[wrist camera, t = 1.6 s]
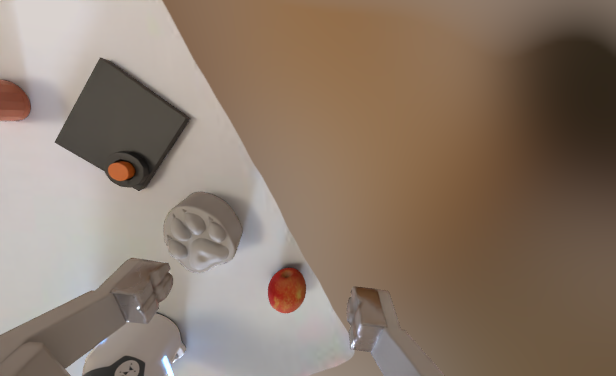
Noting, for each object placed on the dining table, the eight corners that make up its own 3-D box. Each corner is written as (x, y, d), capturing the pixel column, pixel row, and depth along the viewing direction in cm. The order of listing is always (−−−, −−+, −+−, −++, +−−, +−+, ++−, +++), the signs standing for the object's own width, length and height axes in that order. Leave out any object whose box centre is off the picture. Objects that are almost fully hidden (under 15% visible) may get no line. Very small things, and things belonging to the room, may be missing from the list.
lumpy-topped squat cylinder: (204, 255, 46) (187, 285, 38) (168, 204, 42) (140, 224, 34) (248, 236, 46) (241, 261, 38) (216, 182, 42) (200, 197, 34)
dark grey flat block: (145, 188, 41) (133, 194, 38) (65, 141, 37) (44, 143, 34) (190, 118, 38) (181, 118, 35) (109, 60, 35) (91, 54, 31)
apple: (266, 288, 50) (263, 318, 43) (273, 258, 48) (271, 283, 41) (299, 292, 52) (302, 322, 44) (308, 263, 50) (312, 288, 42)
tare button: (130, 181, 37) (122, 184, 36) (112, 171, 36) (104, 173, 35) (138, 168, 37) (131, 170, 35) (121, 157, 36) (113, 159, 34)
